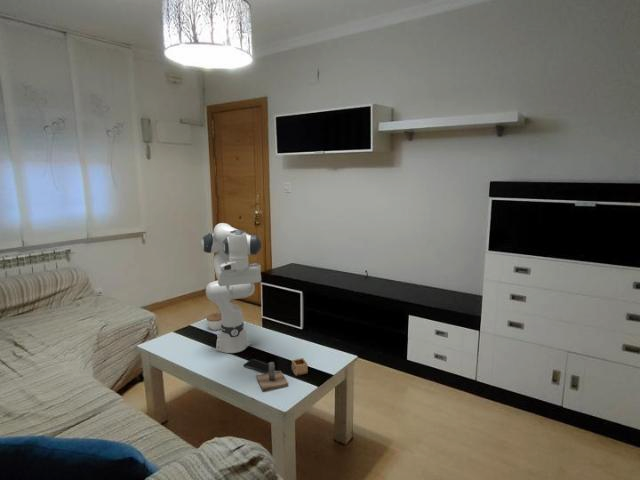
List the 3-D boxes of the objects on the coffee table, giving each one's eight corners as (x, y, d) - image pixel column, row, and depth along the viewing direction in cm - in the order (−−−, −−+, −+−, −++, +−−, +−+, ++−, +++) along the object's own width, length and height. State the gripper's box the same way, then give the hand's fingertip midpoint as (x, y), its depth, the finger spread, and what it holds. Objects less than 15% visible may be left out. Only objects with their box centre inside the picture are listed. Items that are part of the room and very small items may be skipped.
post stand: (256, 378, 185) (255, 359, 183) (280, 373, 190) (280, 355, 188) (262, 391, 174) (262, 372, 172) (288, 386, 179) (288, 366, 177)
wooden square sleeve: (291, 369, 193) (291, 360, 192) (303, 367, 195) (303, 358, 194) (295, 375, 187) (295, 366, 186) (307, 373, 190) (307, 363, 189)
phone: (266, 372, 189) (242, 365, 196) (266, 375, 189) (242, 367, 196) (276, 365, 195) (252, 358, 203) (276, 367, 196) (252, 360, 203)
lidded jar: (210, 333, 234) (209, 318, 232) (204, 327, 243) (204, 312, 241) (227, 329, 240) (227, 314, 238) (221, 323, 249) (220, 309, 247)
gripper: (259, 261, 192) (260, 289, 194) (216, 265, 185) (218, 294, 186) (262, 263, 186) (263, 292, 188) (218, 267, 179) (219, 297, 180)
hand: (240, 293), depth 187 cm, fingers open, 8 cm apart
